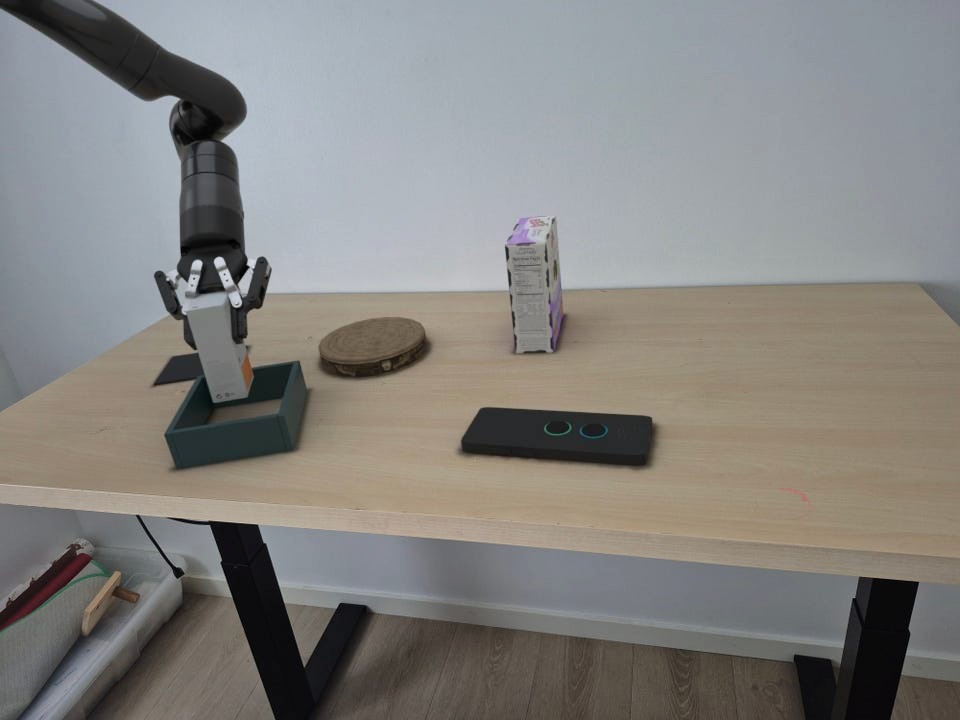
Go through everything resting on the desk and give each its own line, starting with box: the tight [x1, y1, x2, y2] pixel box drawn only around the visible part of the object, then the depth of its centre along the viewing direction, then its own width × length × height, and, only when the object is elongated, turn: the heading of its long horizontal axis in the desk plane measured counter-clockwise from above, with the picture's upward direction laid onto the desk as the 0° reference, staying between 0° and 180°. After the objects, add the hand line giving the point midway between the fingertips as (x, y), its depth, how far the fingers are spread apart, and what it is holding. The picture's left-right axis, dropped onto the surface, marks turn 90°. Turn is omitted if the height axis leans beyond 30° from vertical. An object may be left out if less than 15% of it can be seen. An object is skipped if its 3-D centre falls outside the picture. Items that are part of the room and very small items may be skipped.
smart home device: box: [460, 406, 653, 467], centre depth 77 cm, size 8×2×20 cm
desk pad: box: [153, 344, 248, 386], centre depth 109 cm, size 12×10×1 cm
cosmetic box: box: [186, 291, 254, 403], centre depth 84 cm, size 6×4×12 cm
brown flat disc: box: [317, 316, 428, 379], centre depth 104 cm, size 16×16×3 cm
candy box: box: [504, 215, 564, 354], centre depth 101 cm, size 14×6×16 cm, turn 168°
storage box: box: [163, 359, 308, 470], centre depth 87 cm, size 14×16×5 cm
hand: (216, 344), depth 82 cm, fingers closed on cosmetic box, 4 cm apart
